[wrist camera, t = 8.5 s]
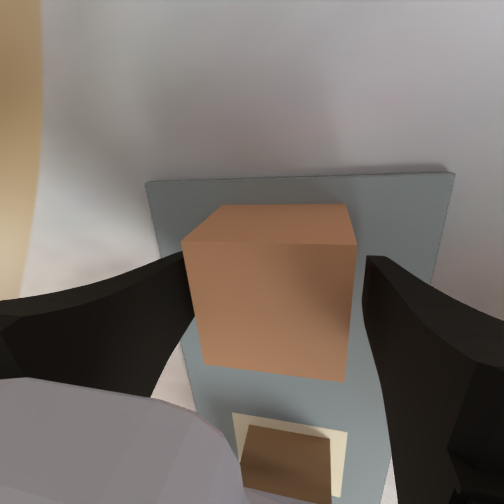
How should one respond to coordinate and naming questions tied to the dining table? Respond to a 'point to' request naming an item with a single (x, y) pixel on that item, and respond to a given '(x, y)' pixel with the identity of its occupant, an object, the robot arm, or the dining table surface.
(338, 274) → the terracotta block
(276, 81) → the dining table surface
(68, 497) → the robot arm
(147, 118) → the dining table surface
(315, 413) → the board
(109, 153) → the dining table surface
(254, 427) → the walnut block
